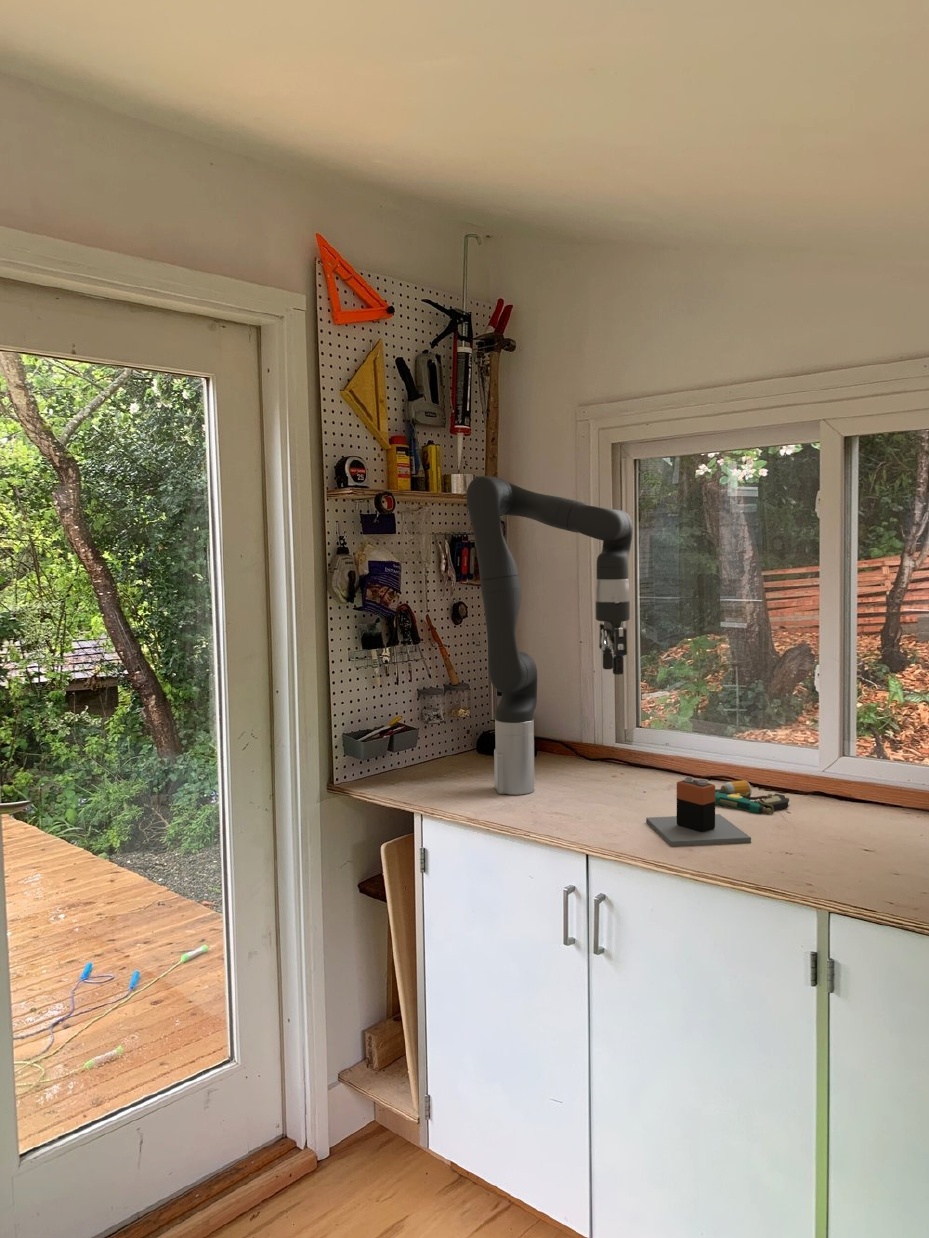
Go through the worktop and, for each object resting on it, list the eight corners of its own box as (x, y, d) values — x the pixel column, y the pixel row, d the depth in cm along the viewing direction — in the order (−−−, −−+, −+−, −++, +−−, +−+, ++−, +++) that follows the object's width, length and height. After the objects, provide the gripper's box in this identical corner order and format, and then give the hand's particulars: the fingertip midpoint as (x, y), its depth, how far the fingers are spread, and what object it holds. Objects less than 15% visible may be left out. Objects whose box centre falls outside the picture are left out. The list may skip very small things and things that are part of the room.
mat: (671, 846, 177) (671, 841, 177) (646, 822, 193) (646, 817, 193) (751, 842, 179) (751, 837, 179) (719, 818, 195) (719, 814, 195)
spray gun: (798, 811, 203) (753, 826, 194) (737, 791, 216) (693, 804, 208) (798, 793, 202) (754, 807, 194) (738, 774, 216) (694, 786, 207)
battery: (702, 833, 182) (702, 783, 181) (675, 825, 187) (675, 777, 186) (716, 828, 184) (716, 780, 184) (689, 821, 190) (689, 773, 189)
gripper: (588, 598, 211) (588, 668, 212) (604, 601, 197) (604, 676, 198) (620, 597, 211) (620, 667, 213) (638, 600, 197) (638, 675, 199)
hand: (612, 671), depth 205 cm, fingers open, 8 cm apart
